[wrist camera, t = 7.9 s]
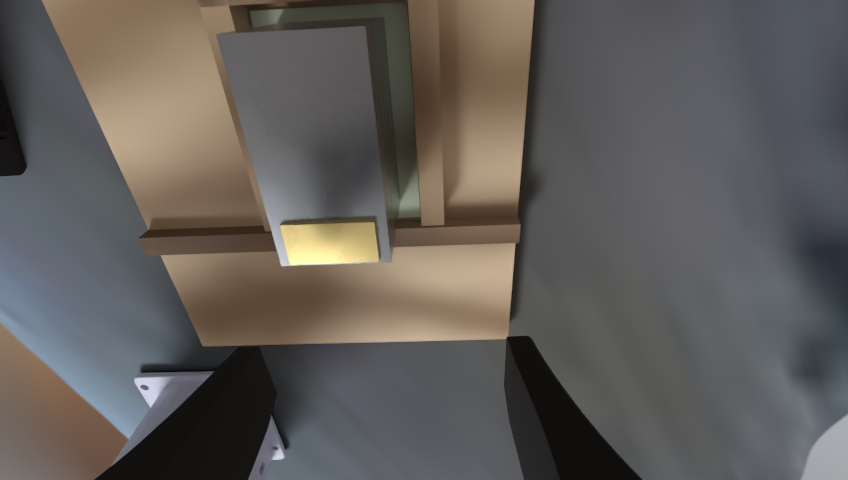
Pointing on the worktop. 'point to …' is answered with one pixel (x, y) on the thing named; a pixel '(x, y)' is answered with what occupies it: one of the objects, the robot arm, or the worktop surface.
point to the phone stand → (9, 140)
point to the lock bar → (319, 136)
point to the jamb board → (238, 188)
